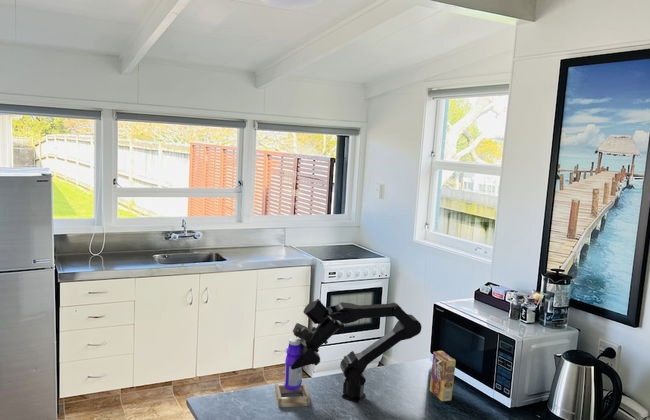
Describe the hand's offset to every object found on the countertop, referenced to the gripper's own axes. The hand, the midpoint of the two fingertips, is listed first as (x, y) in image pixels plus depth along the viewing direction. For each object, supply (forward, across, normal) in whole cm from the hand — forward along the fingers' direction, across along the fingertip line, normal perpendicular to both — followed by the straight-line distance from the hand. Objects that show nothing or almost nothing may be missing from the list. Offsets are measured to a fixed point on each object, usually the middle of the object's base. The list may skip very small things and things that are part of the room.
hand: (290, 363), depth 190 cm
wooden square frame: (+8, 0, +10) cm, 13 cm away
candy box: (-30, +2, +49) cm, 57 cm away
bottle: (+5, 0, +7) cm, 9 cm away
